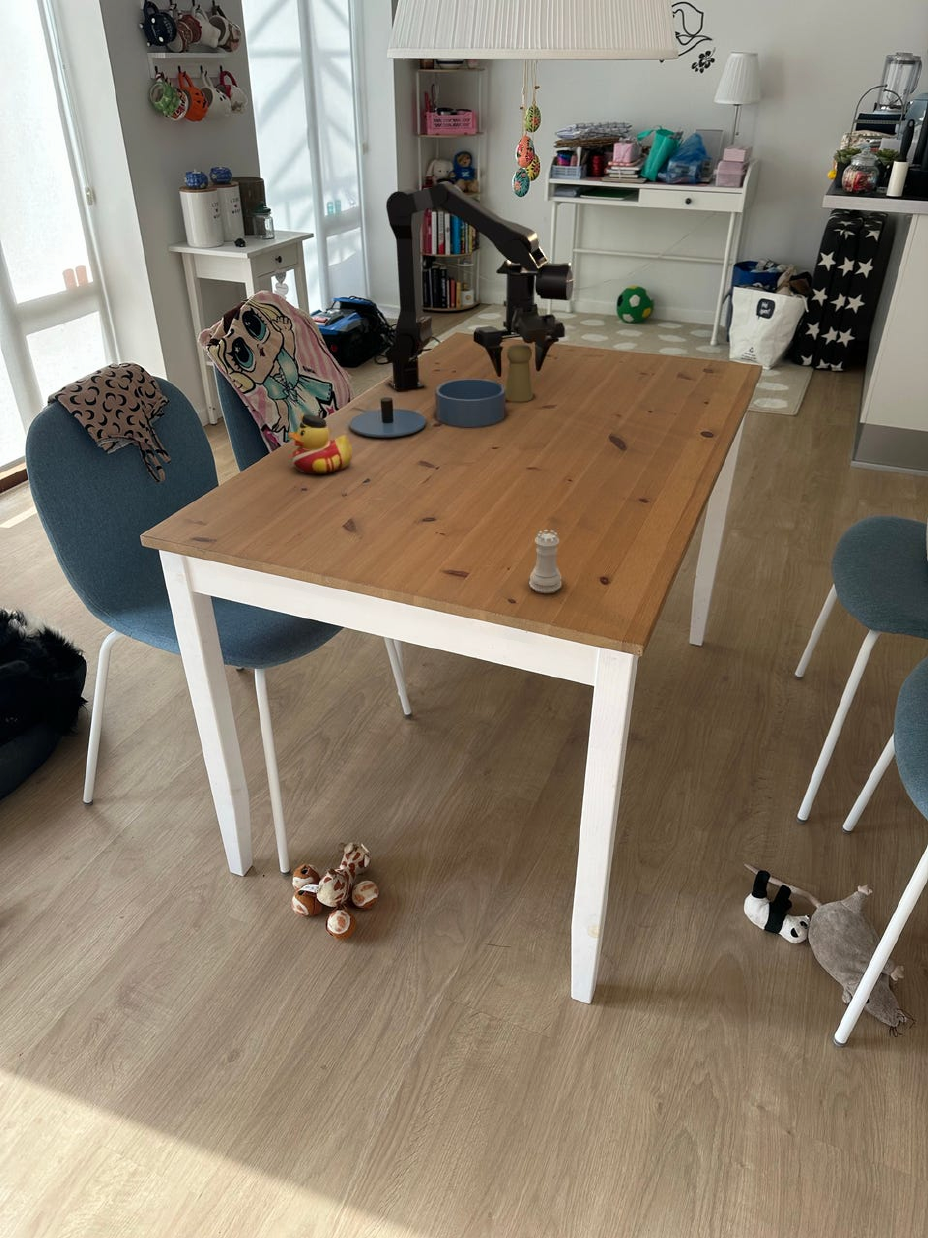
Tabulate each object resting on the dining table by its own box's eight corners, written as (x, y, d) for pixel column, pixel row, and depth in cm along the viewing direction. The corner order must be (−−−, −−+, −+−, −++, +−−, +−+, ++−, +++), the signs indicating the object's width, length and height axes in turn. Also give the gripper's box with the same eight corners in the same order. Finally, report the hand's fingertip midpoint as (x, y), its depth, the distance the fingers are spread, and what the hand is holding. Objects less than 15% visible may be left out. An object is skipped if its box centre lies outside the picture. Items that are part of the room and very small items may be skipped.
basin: (426, 409, 183) (425, 384, 180) (487, 400, 187) (487, 375, 185) (452, 431, 172) (451, 404, 169) (516, 420, 176) (516, 394, 174)
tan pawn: (522, 403, 185) (523, 350, 179) (499, 398, 188) (499, 346, 183) (538, 395, 189) (539, 344, 184) (514, 390, 193) (515, 339, 187)
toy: (289, 462, 159) (282, 408, 154) (347, 454, 162) (342, 401, 157) (297, 481, 152) (290, 425, 147) (358, 473, 155) (353, 418, 149)
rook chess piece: (529, 577, 122) (531, 526, 118) (561, 578, 122) (564, 527, 118) (528, 594, 119) (530, 541, 114) (561, 595, 118) (564, 542, 114)
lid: (340, 420, 178) (338, 393, 175) (410, 409, 183) (409, 383, 180) (363, 445, 166) (361, 416, 163) (437, 432, 171) (436, 404, 168)
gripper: (495, 310, 169) (495, 390, 177) (580, 300, 175) (576, 378, 183) (472, 298, 177) (472, 375, 186) (553, 289, 183) (550, 364, 192)
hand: (518, 373), depth 186 cm, fingers open, 9 cm apart
